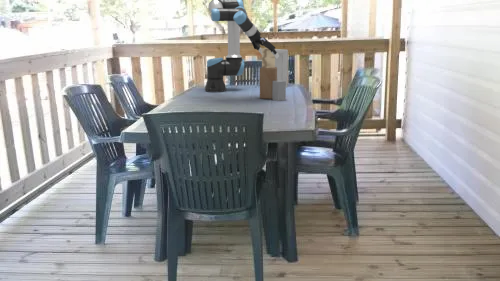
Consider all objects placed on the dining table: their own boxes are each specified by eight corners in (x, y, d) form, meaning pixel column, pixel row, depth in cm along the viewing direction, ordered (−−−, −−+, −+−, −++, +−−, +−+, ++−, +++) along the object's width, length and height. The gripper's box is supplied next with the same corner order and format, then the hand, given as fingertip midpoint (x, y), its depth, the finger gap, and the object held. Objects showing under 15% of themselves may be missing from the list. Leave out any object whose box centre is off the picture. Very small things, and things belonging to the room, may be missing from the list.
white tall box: (283, 84, 363) (284, 48, 356) (287, 87, 349) (288, 49, 342) (259, 85, 361) (260, 49, 354) (262, 87, 346) (263, 50, 339)
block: (274, 99, 293) (275, 68, 288) (259, 98, 295) (259, 67, 290) (277, 97, 303) (277, 66, 298) (262, 96, 305) (262, 66, 300)
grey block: (272, 99, 293) (272, 81, 290) (279, 98, 296) (280, 80, 293) (278, 101, 288) (278, 81, 285) (285, 100, 291) (285, 81, 288)
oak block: (261, 67, 295) (262, 48, 292) (269, 66, 298) (269, 47, 295) (267, 67, 290) (267, 48, 287) (274, 67, 293) (275, 48, 290)
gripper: (237, 36, 291) (256, 59, 303) (260, 37, 271) (280, 62, 283) (244, 28, 293) (263, 51, 304) (267, 28, 273) (286, 53, 285)
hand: (271, 56), depth 294 cm, fingers open, 13 cm apart
